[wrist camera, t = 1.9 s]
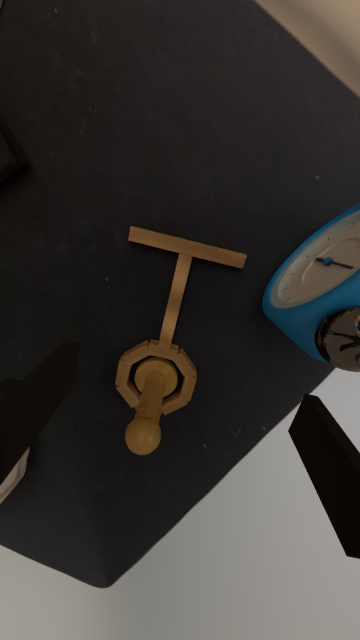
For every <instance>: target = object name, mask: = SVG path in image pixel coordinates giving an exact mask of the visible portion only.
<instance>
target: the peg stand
mask: <svg viewBox="0 0 360 640" xmlns="http://www.w3.org/2000/svg"><path fill="white" fill-rule="evenodd" d="M177 379H178V374H177V370H176V368H175V367H174V365H173V364H172V363H171V362H170V361H168V360H166V359H164V358H160V357H152V358H148V359H146V360H144V361H143V362H141V363H140V365H139V366H138V368H137V371H136V373H135V383H136V386H137V387H138V389H139V390H140V391H141V392H142V394H141V397H140V400H139V404H138V407H137V411H136V414H135V417H134V420H132V421H131V422H130V424H129V425H128V427H127V429H126V432H125V441H126V444H127V446H128V448H129V449H130V450H131V451H132V452H133V453H135V454H138V455H146V454H149V453H151V452H153V451H154V450H155V449H156V448H157V446H158V445H159V443H160V440H161V429H160V427H159V419H160V413H161V407H162V401H163V397H165V396H167V395H169V394H170V393H172V392H173V391H174V389H175V388H176V385H177Z"/></svg>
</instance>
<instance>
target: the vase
mask: <svg viewBox="0 0 360 640" xmlns="http://www.w3.org/2000/svg"><path fill="white" fill-rule="evenodd" d="M29 451H30V447H29V448H28V449H27V450H26V452H25V453H24V454H23V456H22V457H21V458H20V460H19V461H18V463H17V464H16V465H15V467H14V468H13V469H12V471H11V472H10V473H9V475H8V476H7V478H6V479H5V480H4V482H3V483H2V484H1V486H0V504H1V502H2V501H3V500H4V499H5V498H6V497H7V496H8V494H9V493H10V492H11V491H12V490H13V488H14V487H15V486H16V485H17V484H18V482H19V481H20V480H21V478H22V477H23V476H24V473H25V470H26V464H27V457H28V454H29Z"/></svg>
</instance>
